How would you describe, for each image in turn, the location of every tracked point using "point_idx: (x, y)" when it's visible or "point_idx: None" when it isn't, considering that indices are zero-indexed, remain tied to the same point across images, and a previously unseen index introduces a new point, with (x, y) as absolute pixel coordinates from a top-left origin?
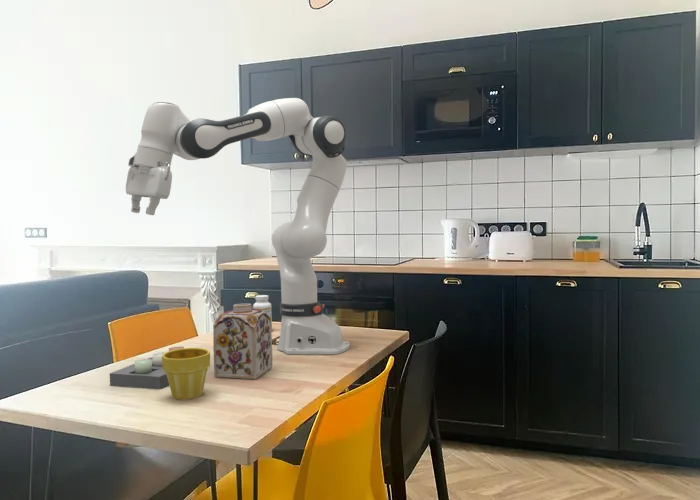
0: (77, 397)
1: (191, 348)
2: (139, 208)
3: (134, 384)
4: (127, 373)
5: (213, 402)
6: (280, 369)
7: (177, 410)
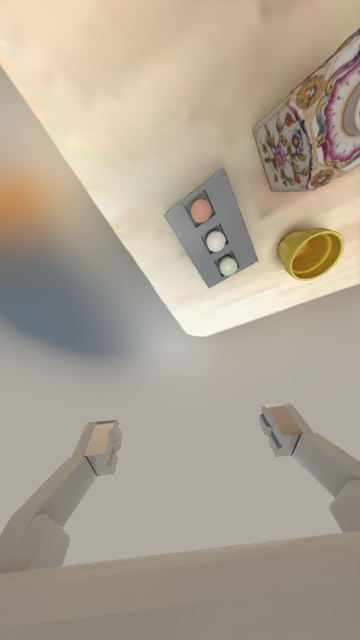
0: (218, 307)
1: (304, 243)
2: (110, 446)
3: None
4: (222, 277)
5: None
6: None
7: None
